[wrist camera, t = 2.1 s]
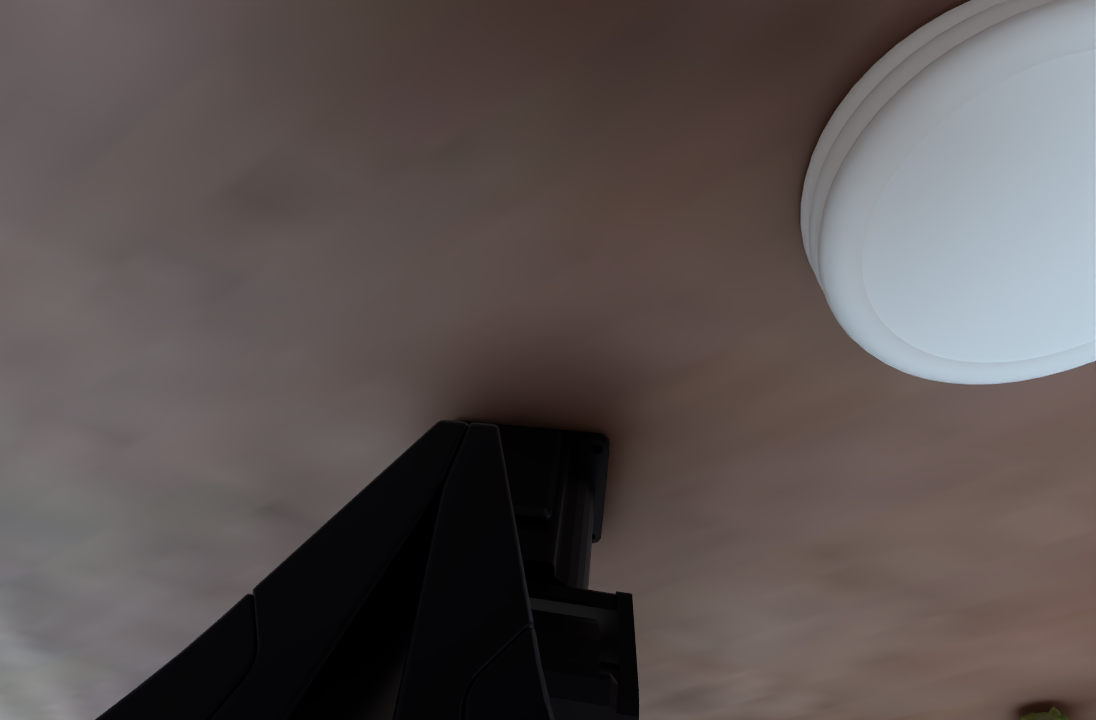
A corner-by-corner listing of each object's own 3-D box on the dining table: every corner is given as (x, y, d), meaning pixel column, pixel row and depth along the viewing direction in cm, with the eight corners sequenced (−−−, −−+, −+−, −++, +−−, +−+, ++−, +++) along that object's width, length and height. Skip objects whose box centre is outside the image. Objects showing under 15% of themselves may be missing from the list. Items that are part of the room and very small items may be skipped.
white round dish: (744, 112, 17) (764, 154, 14) (1195, -132, 13) (1341, -138, 11) (853, 367, 22) (884, 436, 19) (1211, 242, 18) (1317, 307, 15)
